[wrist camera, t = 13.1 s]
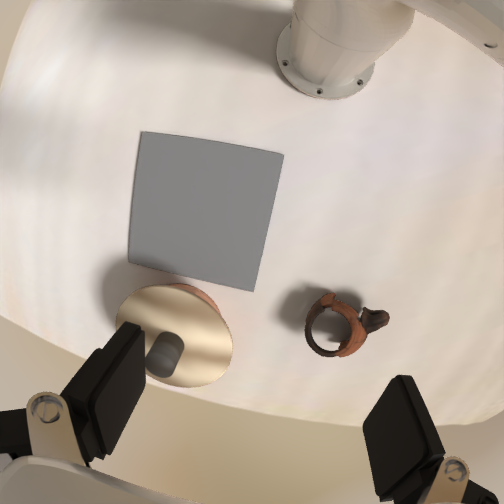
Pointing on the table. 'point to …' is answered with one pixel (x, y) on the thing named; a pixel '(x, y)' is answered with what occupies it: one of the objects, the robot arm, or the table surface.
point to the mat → (202, 208)
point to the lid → (179, 335)
